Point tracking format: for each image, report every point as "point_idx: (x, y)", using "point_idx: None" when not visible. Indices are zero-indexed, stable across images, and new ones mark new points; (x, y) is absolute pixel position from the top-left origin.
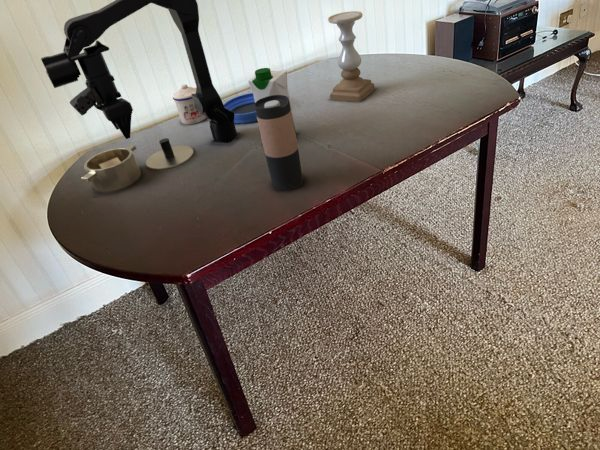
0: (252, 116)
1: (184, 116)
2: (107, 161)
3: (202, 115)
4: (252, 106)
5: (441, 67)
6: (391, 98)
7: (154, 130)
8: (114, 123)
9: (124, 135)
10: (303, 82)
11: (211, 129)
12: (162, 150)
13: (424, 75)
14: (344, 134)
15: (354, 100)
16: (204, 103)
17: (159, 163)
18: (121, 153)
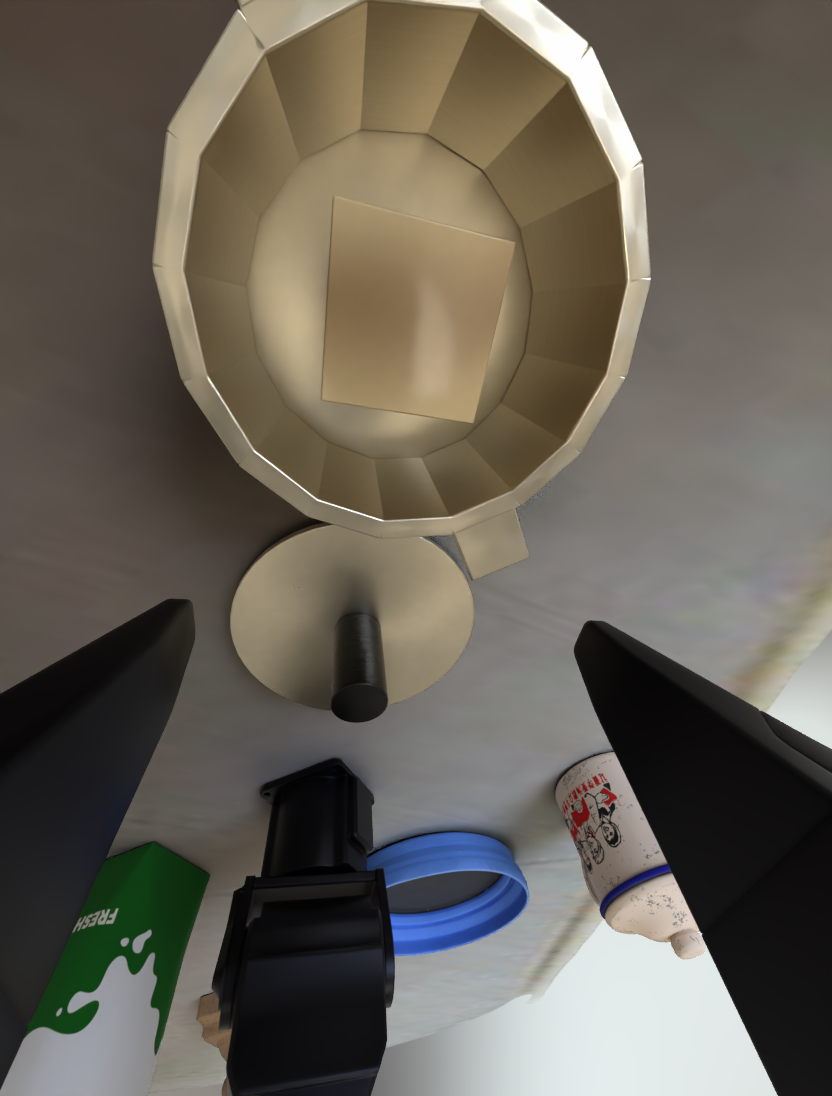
0: None
1: (609, 789)
2: (486, 330)
3: (562, 812)
4: (460, 888)
5: (218, 1073)
6: None
7: (704, 675)
8: (631, 674)
9: (119, 629)
10: (458, 963)
11: (349, 819)
12: (364, 642)
13: (211, 1059)
14: None
15: (213, 996)
16: (232, 1044)
17: (331, 573)
18: (499, 473)
